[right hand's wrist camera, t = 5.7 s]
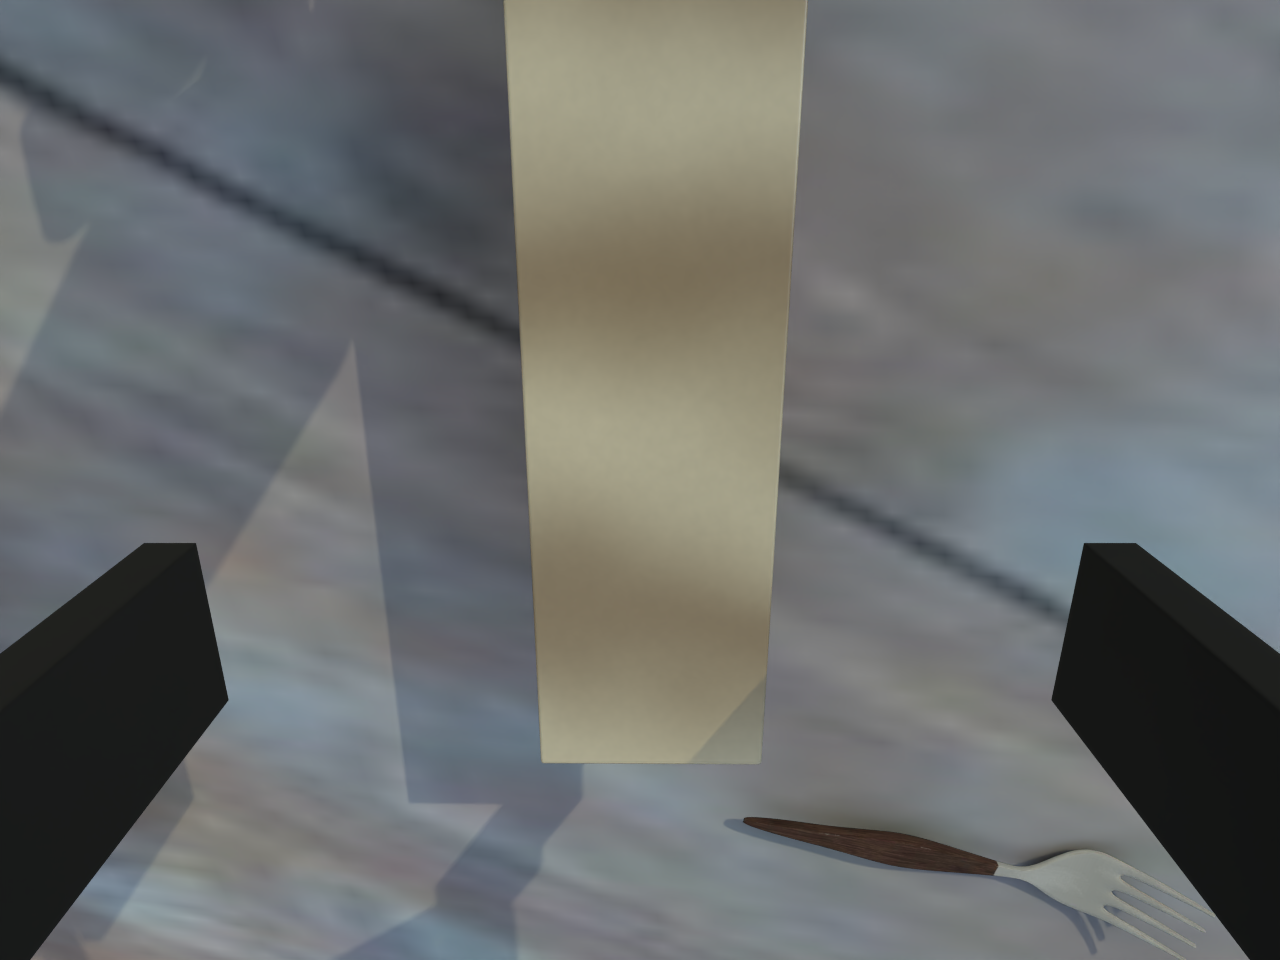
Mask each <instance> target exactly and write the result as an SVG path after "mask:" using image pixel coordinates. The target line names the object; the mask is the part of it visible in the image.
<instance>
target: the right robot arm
mask: <svg viewBox="0 0 1280 960" xmlns="http://www.w3.org/2000/svg"><path fill="white" fill-rule="evenodd" d="M227 701H228V695H227V690H226V686H225V681H224V676H223V671H222V666H221V662H220V657H219V652H218V647H217V642H216V637H215V633H214V628H213V623H212V618H211V613H210V609H209V604H208V599H207V594H206V589H205V584H204V580H203V575H202V570H201V565H200V560H199V556H198V551H197V546H196V543H144V544H142V545H141V546H140V547H139V548H137V549H136V550H135V551H133V552H132V553H131V554H129V555H128V556H127V557H126V558H124V559H123V560H122V561H120V562H119V563H118V564H116V565H115V566H114V567H113V568H111V569H110V570H109V571H107V572H106V573H105V574H103V575H102V576H101V577H100V578H98V579H97V580H96V581H94V582H93V583H92V584H90V585H89V586H88V587H87V588H85V589H84V590H83V591H81V592H80V593H79V594H77V595H76V596H75V597H74V598H72V599H71V600H70V601H68V602H67V603H66V604H64V605H63V606H62V607H61V608H59V609H58V610H57V611H55V612H54V613H53V614H51V615H50V616H49V617H48V618H46V619H45V620H44V621H42V622H41V623H40V624H38V625H37V626H36V627H35V628H33V629H32V630H31V631H29V632H28V633H27V634H25V635H24V636H23V637H22V638H20V639H19V640H18V641H16V642H15V643H14V644H12V645H11V646H10V647H9V648H7V649H6V650H5V651H3V652H2V653H1V654H0V960H30V959H31V958H32V957H33V955H34V954H35V953H36V951H37V950H38V949H39V947H40V946H41V945H42V944H43V942H44V941H45V940H46V938H47V937H48V936H49V934H50V933H51V932H52V930H53V929H54V928H55V927H56V925H57V924H58V923H59V921H60V920H61V919H62V917H63V916H64V915H65V913H66V912H67V911H68V910H69V908H70V907H71V906H72V904H73V903H74V902H75V900H76V899H77V898H78V896H79V895H80V894H81V893H82V891H83V890H84V889H85V887H86V886H87V885H88V883H89V882H90V881H91V879H92V878H93V877H94V876H95V874H96V873H97V872H98V870H99V869H100V868H101V866H102V865H103V864H104V862H105V861H106V860H107V858H108V857H109V856H110V855H111V853H112V852H113V851H114V849H115V848H116V847H117V845H118V844H119V843H120V841H121V840H122V839H123V838H124V836H125V835H126V834H127V832H128V831H129V830H130V828H131V827H132V826H133V824H134V823H135V822H136V821H137V819H138V818H139V817H140V815H141V814H142V813H143V811H144V810H145V809H146V807H147V806H148V805H149V804H150V802H151V801H152V800H153V798H154V797H155V796H156V794H157V793H158V792H159V790H160V789H161V788H162V787H163V785H164V784H165V783H166V781H167V780H168V779H169V777H170V776H171V775H172V773H173V772H174V771H175V770H176V768H177V767H178V766H179V764H180V763H181V762H182V760H183V759H184V758H185V756H186V755H187V754H188V753H189V751H190V750H191V749H192V747H193V746H194V745H195V743H196V742H197V741H198V739H199V738H200V737H201V736H202V734H203V733H204V732H205V730H206V729H207V728H208V726H209V725H210V724H211V722H212V721H213V720H214V718H215V717H216V716H217V715H218V713H219V712H220V711H221V709H222V708H223V707H224V705H225V704H226V703H227ZM1052 701H1053V703H1054V704H1055V705H1056V707H1057V708H1058V709H1059V711H1060V712H1061V713H1062V715H1063V716H1064V717H1065V718H1066V720H1067V721H1068V722H1069V724H1070V725H1071V726H1072V728H1073V729H1074V730H1075V732H1076V733H1077V734H1078V736H1079V737H1080V738H1081V739H1082V741H1083V742H1084V743H1085V745H1086V746H1087V747H1088V749H1089V750H1090V751H1091V753H1092V754H1093V755H1094V756H1095V758H1096V759H1097V760H1098V762H1099V763H1100V764H1101V766H1102V767H1103V768H1104V770H1105V771H1106V772H1107V773H1108V775H1109V776H1110V777H1111V779H1112V780H1113V781H1114V783H1115V784H1116V785H1117V787H1118V788H1119V789H1120V790H1121V792H1122V793H1123V794H1124V796H1125V797H1126V798H1127V800H1128V801H1129V802H1130V804H1131V805H1132V806H1133V807H1134V809H1135V810H1136V811H1137V813H1138V814H1139V815H1140V817H1141V818H1142V819H1143V821H1144V822H1145V823H1146V824H1147V826H1148V827H1149V828H1150V830H1151V831H1152V832H1153V834H1154V835H1155V836H1156V838H1157V839H1158V840H1159V841H1160V843H1161V844H1162V845H1163V847H1164V848H1165V849H1166V851H1167V852H1168V853H1169V855H1170V856H1171V857H1172V859H1173V860H1174V861H1175V862H1176V864H1177V865H1178V866H1179V868H1180V869H1181V870H1182V872H1183V873H1184V874H1185V876H1186V877H1187V878H1188V879H1189V881H1190V882H1191V883H1192V885H1193V886H1194V887H1195V889H1196V890H1197V891H1198V893H1199V894H1200V895H1201V896H1202V898H1203V899H1204V900H1205V902H1206V903H1207V904H1208V906H1209V907H1210V908H1211V910H1212V911H1213V912H1214V913H1215V915H1216V916H1217V917H1218V919H1219V920H1220V921H1221V923H1222V924H1223V925H1224V927H1225V928H1226V929H1227V930H1228V932H1229V933H1230V934H1231V936H1232V937H1233V938H1234V940H1235V941H1236V942H1237V944H1238V945H1239V946H1240V947H1241V949H1242V950H1243V951H1244V953H1245V954H1246V955H1247V957H1248V958H1249V959H1250V960H1280V654H1279V653H1278V652H1277V651H1275V650H1274V649H1273V648H1271V647H1270V646H1269V645H1268V644H1266V643H1265V642H1264V641H1262V640H1261V639H1260V638H1258V637H1257V636H1256V635H1255V634H1253V633H1252V632H1251V631H1249V630H1248V629H1247V628H1245V627H1244V626H1243V625H1242V624H1240V623H1239V622H1238V621H1236V620H1235V619H1234V618H1232V617H1231V616H1230V615H1229V614H1227V613H1226V612H1225V611H1223V610H1222V609H1221V608H1219V607H1218V606H1217V605H1216V604H1214V603H1213V602H1212V601H1210V600H1209V599H1208V598H1206V597H1205V596H1204V595H1203V594H1201V593H1200V592H1199V591H1197V590H1196V589H1195V588H1193V587H1192V586H1191V585H1190V584H1188V583H1187V582H1186V581H1184V580H1183V579H1182V578H1180V577H1179V576H1178V575H1177V574H1175V573H1174V572H1173V571H1171V570H1170V569H1169V568H1167V567H1166V566H1165V565H1164V564H1162V563H1161V562H1160V561H1158V560H1157V559H1156V558H1154V557H1153V556H1152V555H1151V554H1149V553H1148V552H1147V551H1145V550H1144V549H1143V548H1141V547H1140V546H1139V545H1138V544H1136V543H1084V546H1083V551H1082V556H1081V560H1080V565H1079V570H1078V575H1077V580H1076V584H1075V589H1074V594H1073V599H1072V604H1071V609H1070V613H1069V618H1068V623H1067V628H1066V633H1065V637H1064V642H1063V647H1062V652H1061V657H1060V662H1059V666H1058V671H1057V676H1056V681H1055V686H1054V690H1053V695H1052Z"/></svg>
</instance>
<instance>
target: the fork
mask: <svg viewBox="0 0 1280 960" xmlns="http://www.w3.org/2000/svg"><path fill="white" fill-rule="evenodd" d="M743 822H744V823H745V824H747V825H750V826H752V827H755V828H758V829H761V830H764V831H767V832H771V833H774V834H778V835H781V836H785V837H788V838H792V839H796V840H800V841H803V842H807V843H811V844H815V845H819V846H822V847H826V848H830V849H833V850H837V851H840V852H844V853H847V854H851V855H854V856H858V857H861V858H865V859H868V860H872V861H876V862H880V863H884V864H888V865H893V866H898V867H904V868H912V869H921V870H931V871H943V872H956V873H969V874H981V875H993V876H1003V877H1011V878H1016V879H1021V880H1024V881H1026V882H1028V883H1030V884H1032V885H1034V886H1035V887H1037V888H1038V889H1039V890H1041V891H1042V892H1043V893H1045V894H1046V895H1048V896H1049V897H1051V898H1052V899H1054V900H1056V901H1058V902H1060V903H1062V904H1064V905H1066V906H1069V907H1071V908H1073V909H1076V910H1078V911H1081V912H1084V913H1086V914H1089V915H1091V916H1094V917H1096V918H1099V919H1101V920H1103V921H1106V922H1108V923H1110V924H1112V925H1114V926H1116V927H1118V928H1120V929H1122V930H1124V931H1126V932H1128V933H1130V934H1132V935H1134V936H1136V937H1138V938H1140V939H1142V940H1144V941H1146V942H1148V943H1149V944H1151V945H1153V946H1155V947H1157V948H1159V949H1161V950H1163V951H1165V952H1167V953H1168V954H1170V955H1172V956H1174V957H1176V958H1177V959H1179V960H1187V959H1185V958H1184V957H1182V956H1180V955H1179V954H1177V953H1176V952H1174V951H1172V950H1171V949H1169V948H1168V947H1166V946H1164V945H1163V944H1161V943H1160V942H1158V941H1156V940H1155V939H1153V938H1151V937H1150V936H1148V935H1146V934H1145V933H1143V932H1141V931H1140V930H1138V929H1136V928H1135V927H1133V926H1131V925H1130V924H1128V923H1126V922H1124V921H1123V920H1121V919H1119V918H1118V917H1116V916H1114V915H1113V914H1111V913H1109V912H1108V911H1107V910H1105V909H1104V906H1105V905H1108V906H1112V907H1114V908H1117V909H1119V910H1121V911H1124V912H1126V913H1128V914H1130V915H1132V916H1134V917H1136V918H1138V919H1140V920H1142V921H1144V922H1146V923H1148V924H1150V925H1152V926H1154V927H1156V928H1158V929H1160V930H1162V931H1164V932H1166V933H1168V934H1169V935H1171V936H1173V937H1175V938H1177V939H1179V940H1181V941H1183V942H1185V943H1187V944H1188V945H1190V946H1192V947H1194V948H1196V945H1195V944H1194V943H1192V942H1191V941H1189V940H1188V939H1186V938H1184V937H1183V936H1181V935H1180V934H1178V933H1176V932H1175V931H1173V930H1171V929H1170V928H1168V927H1167V926H1165V925H1163V924H1162V923H1160V922H1158V921H1157V920H1155V919H1153V918H1151V917H1150V916H1148V915H1146V914H1145V913H1143V912H1141V911H1140V910H1138V909H1136V908H1134V907H1133V906H1131V905H1129V904H1127V903H1126V902H1124V901H1122V900H1120V899H1119V898H1117V897H1116V896H1115V895H1113V893H1112V891H1114V890H1116V891H1120V892H1123V893H1125V894H1127V895H1130V896H1132V897H1134V898H1136V899H1138V900H1140V901H1142V902H1144V903H1147V904H1149V905H1151V906H1153V907H1155V908H1157V909H1159V910H1161V911H1163V912H1165V913H1167V914H1169V915H1171V916H1173V917H1175V918H1177V919H1179V920H1181V921H1183V922H1185V923H1186V924H1188V925H1190V926H1192V927H1194V928H1196V929H1198V930H1200V931H1201V932H1204V933H1205V932H1206V931H1205V929H1203V928H1202V927H1200V926H1199V925H1197V924H1195V923H1194V922H1192V921H1191V920H1189V919H1187V918H1186V917H1184V916H1182V915H1181V914H1179V913H1177V912H1176V911H1174V910H1172V909H1171V908H1169V907H1167V906H1166V905H1164V904H1162V903H1160V902H1159V901H1157V900H1155V899H1154V898H1152V897H1150V896H1148V895H1147V894H1145V893H1143V892H1141V891H1139V890H1138V889H1136V888H1134V887H1132V886H1131V885H1129V884H1127V883H1126V882H1124V881H1123V880H1122V879H1121V876H1122V875H1125V876H1129V877H1132V878H1134V879H1136V880H1139V881H1141V882H1143V883H1145V884H1147V885H1149V886H1152V887H1154V888H1156V889H1158V890H1160V891H1162V892H1164V893H1166V894H1168V895H1170V896H1172V897H1174V898H1176V899H1178V900H1180V901H1182V902H1185V903H1187V904H1189V905H1191V906H1193V907H1195V908H1197V909H1198V910H1200V911H1202V912H1204V913H1206V914H1208V915H1209V916H1211V917H1213V918H1214V917H1215V916H1216V915H1215V914H1214V913H1213V912H1211V911H1209V910H1207V909H1206V908H1204V907H1202V906H1201V905H1199V904H1197V903H1196V902H1194V901H1192V900H1190V899H1189V898H1187V897H1185V896H1184V895H1182V894H1180V893H1179V892H1177V891H1175V890H1173V889H1172V888H1170V887H1168V886H1166V885H1165V884H1163V883H1161V882H1159V881H1158V880H1156V879H1154V878H1152V877H1150V876H1149V875H1147V874H1145V873H1143V872H1141V871H1139V870H1137V869H1135V868H1134V867H1132V866H1130V865H1128V864H1126V863H1124V862H1122V861H1120V860H1118V859H1116V858H1114V857H1112V856H1110V855H1108V854H1105V853H1103V852H1099V851H1095V850H1087V849H1082V850H1074V851H1069V852H1066V853H1063V854H1060V855H1058V856H1055V857H1053V858H1050V859H1048V860H1045V861H1043V862H1040V863H1038V864H1035V865H1031V866H1024V867H1023V866H1013V865H1008V864H1005V863H1001V862H998V861H994V860H991V859H988V858H985V857H982V856H978V855H975V854H972V853H969V852H966V851H963V850H960V849H956V848H953V847H950V846H947V845H944V844H940V843H937V842H934V841H930V840H927V839H923V838H919V837H915V836H911V835H906V834H901V833H894V832H887V831H877V830H866V829H855V828H845V827H835V826H826V825H818V824H811V823H804V822H797V821H789V820H780V819H771V818H758V817H746V818H744V820H743Z"/></svg>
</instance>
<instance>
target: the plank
mask: <svg viewBox="0 0 1280 960" xmlns="http://www.w3.org/2000/svg"><path fill="white" fill-rule="evenodd" d="M503 5H504V25H505V45H506V66H507V86H508V106H509V126H510V146H511V166H512V186H513V206H514V226H515V246H516V267H517V287H518V307H519V327H520V347H521V367H522V387H523V407H524V427H525V447H526V468H527V488H528V508H529V528H530V548H531V568H532V588H533V608H534V628H535V648H536V669H537V689H538V709H539V729H540V749H541V761H542V763H604V764H760V763H761V759H762V743H763V726H764V710H765V694H766V677H767V661H768V645H769V628H770V612H771V596H772V579H773V563H774V547H775V530H776V514H777V498H778V481H779V465H780V449H781V432H782V416H783V400H784V383H785V367H786V351H787V334H788V318H789V302H790V285H791V269H792V253H793V237H794V220H795V204H796V188H797V171H798V155H799V139H800V122H801V106H802V90H803V73H804V57H805V41H806V24H807V8H808V0H503Z"/></svg>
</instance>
